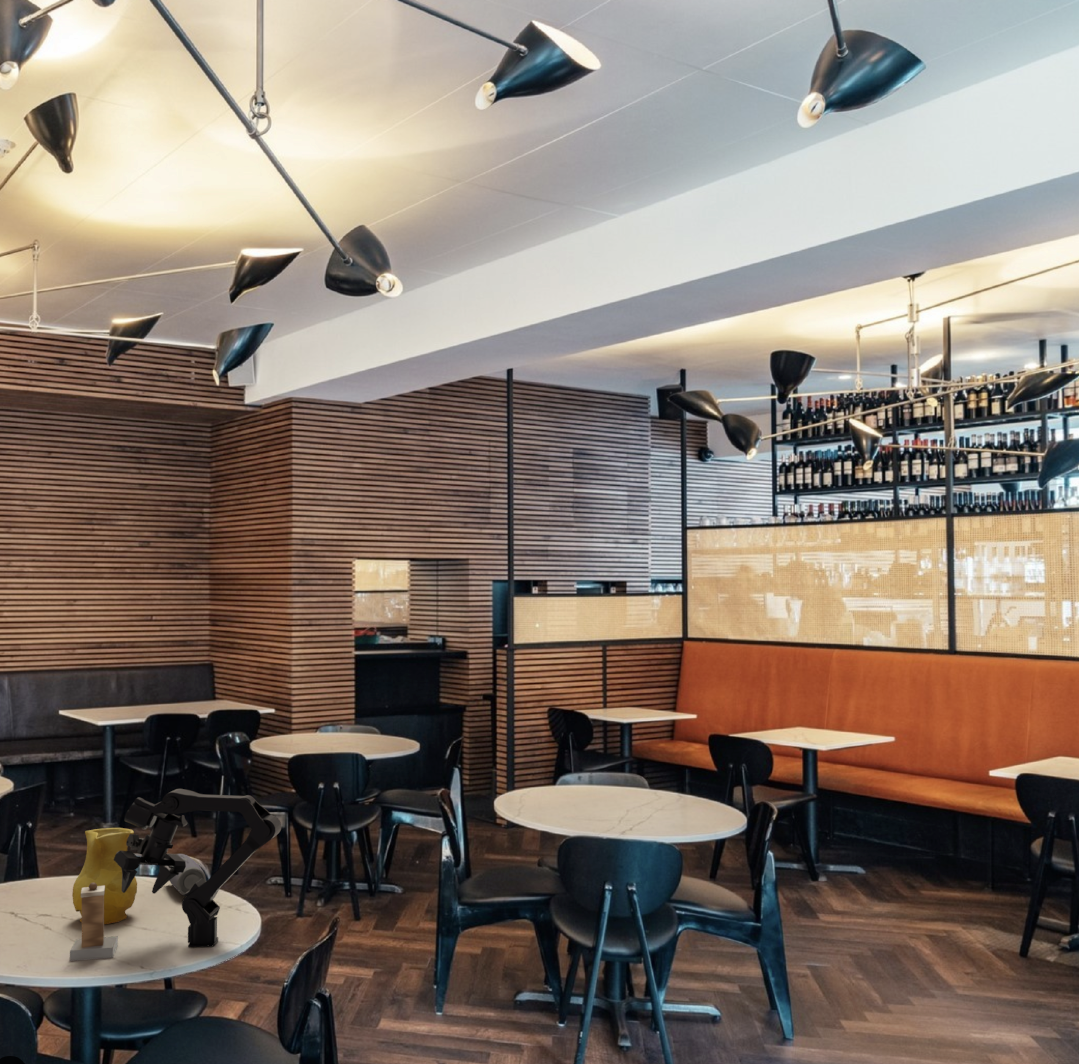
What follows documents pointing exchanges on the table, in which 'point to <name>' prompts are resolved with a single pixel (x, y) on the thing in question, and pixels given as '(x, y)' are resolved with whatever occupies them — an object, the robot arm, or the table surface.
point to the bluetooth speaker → (187, 875)
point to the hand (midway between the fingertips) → (138, 892)
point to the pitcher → (106, 873)
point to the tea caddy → (92, 915)
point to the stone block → (94, 949)
